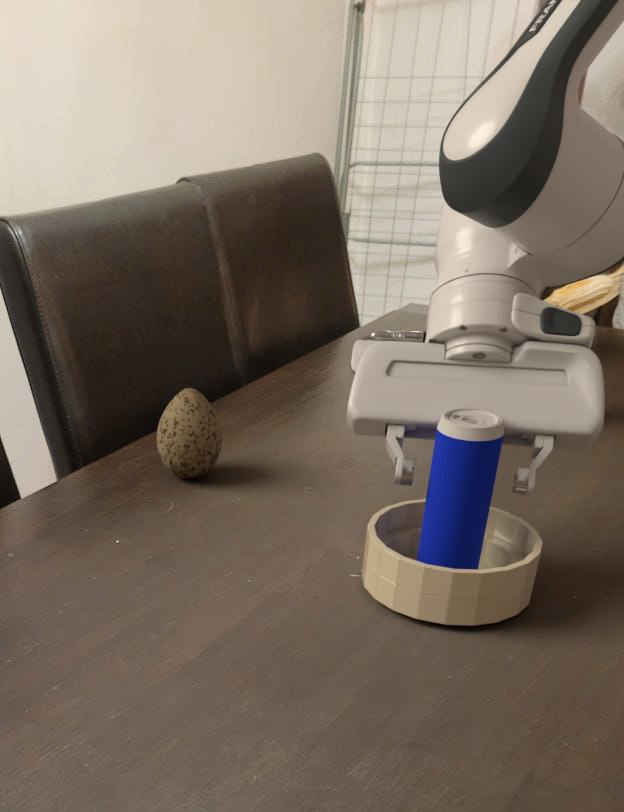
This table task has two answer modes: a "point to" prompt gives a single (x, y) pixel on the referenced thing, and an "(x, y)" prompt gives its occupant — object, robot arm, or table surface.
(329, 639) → the table surface
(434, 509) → the beverage can
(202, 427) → the decorative egg
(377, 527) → the bowl
